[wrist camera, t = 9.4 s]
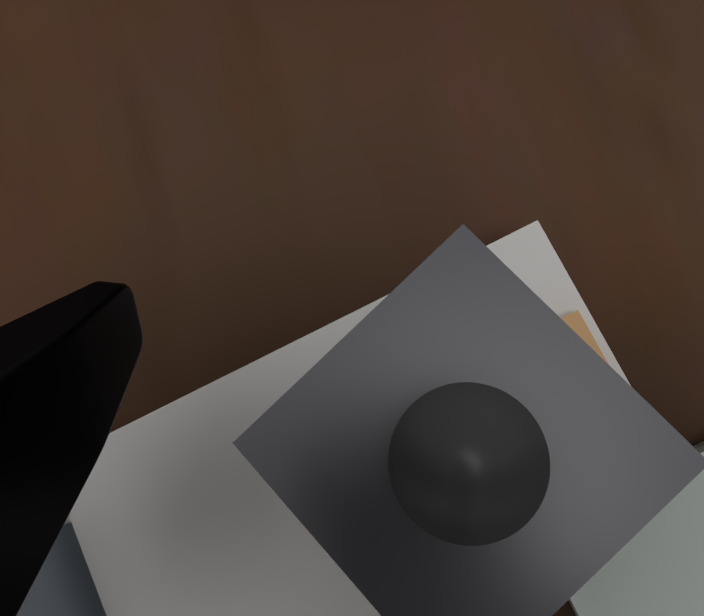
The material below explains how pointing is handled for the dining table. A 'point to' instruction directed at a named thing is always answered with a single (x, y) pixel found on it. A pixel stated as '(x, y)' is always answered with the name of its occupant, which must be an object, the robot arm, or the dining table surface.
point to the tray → (655, 565)
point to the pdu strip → (244, 484)
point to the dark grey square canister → (468, 447)
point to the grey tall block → (63, 582)
